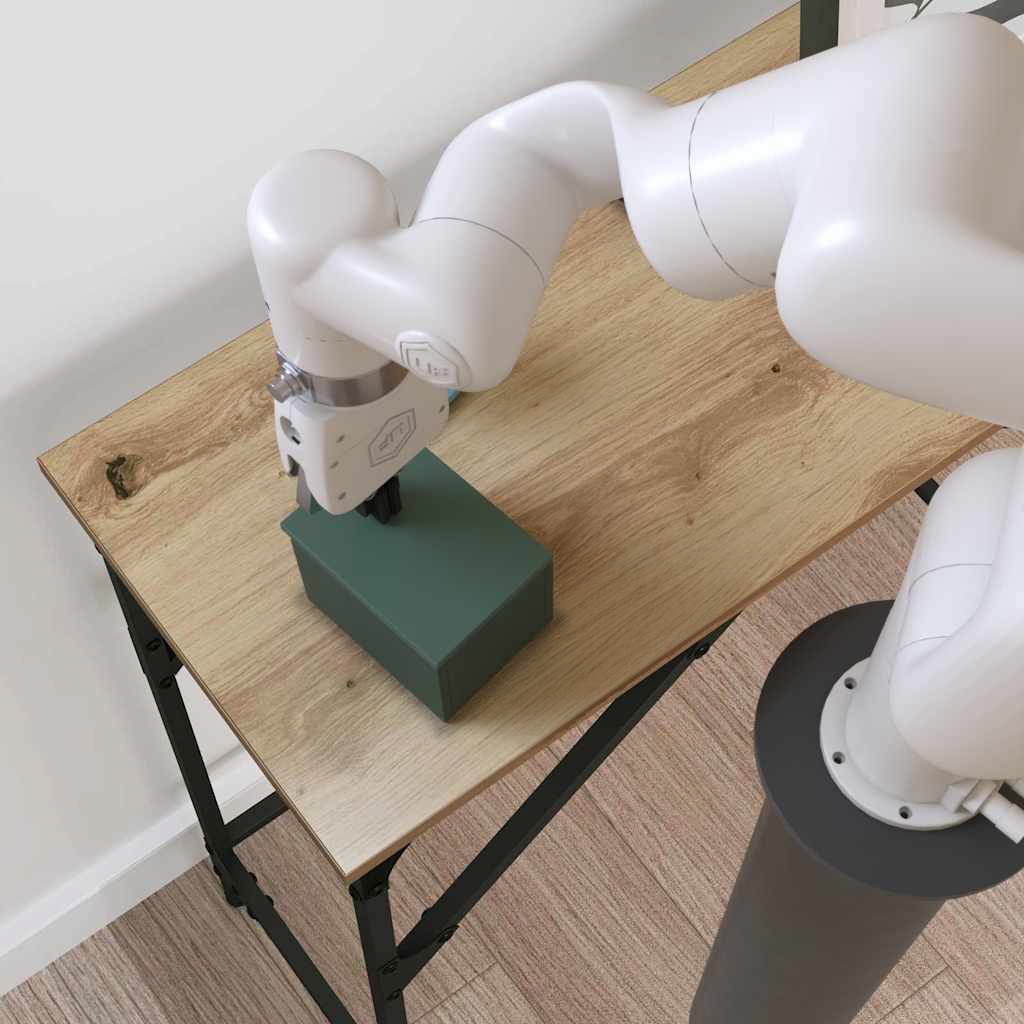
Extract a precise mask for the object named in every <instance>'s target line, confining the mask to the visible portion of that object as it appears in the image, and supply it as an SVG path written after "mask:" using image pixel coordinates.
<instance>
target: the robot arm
mask: <svg viewBox="0 0 1024 1024" xmlns="http://www.w3.org/2000/svg"><path fill="white" fill-rule="evenodd" d="M622 197H623V198H624V202H625V203H624V207H625V210H626V214H627V217H628V220H629V224H630V227H631V230H632V232H633V235H634V237H635V239H636V242H637V244H638V246H639V247H640V249H641V251H642V254H643V255H644V256H645V258H646V260H647V262H649V265H650V266H651V267H652V268H653V269H654V271H655V272H656V273H657V274H658V275H659V277H660V278H662V280H664V281H665V282H666V283H667V284H668V285H669V286H670V287H672V288H673V289H674V290H676V291H677V292H680V293H681V294H683V295H684V296H687V297H690V298H692V299H697V300H702V301H707V302H716V301H725V300H729V299H733V298H736V297H740V296H743V295H744V296H745V295H747V294H750V293H753V292H759V291H761V290H765V289H770V288H773V287H774V293H775V299H776V306H777V313H778V315H779V319H780V320H781V322H782V324H783V326H784V328H785V330H786V331H787V334H789V336H790V337H791V339H793V340H794V341H795V342H796V343H797V345H798V346H800V347H801V349H802V350H803V351H804V352H805V353H806V354H807V355H808V356H810V357H811V358H812V359H814V360H816V361H817V362H819V363H820V364H822V365H823V366H825V367H827V368H828V369H830V370H832V371H833V372H835V373H837V374H839V375H840V376H843V377H845V378H847V379H849V380H852V381H855V382H857V383H859V384H862V385H865V386H867V387H869V388H873V389H875V390H877V391H881V392H883V393H886V394H889V395H892V396H894V397H897V398H901V399H904V400H908V401H911V402H914V403H918V404H922V405H925V406H929V407H932V408H936V409H939V410H943V411H945V412H950V413H953V414H957V415H961V416H965V417H968V418H972V419H976V420H979V421H983V422H986V423H990V424H994V425H998V426H1000V427H1001V426H1002V427H1005V428H1009V429H1012V430H1016V431H1020V432H1023V433H1024V42H1023V41H1022V40H1021V38H1020V37H1019V36H1018V35H1017V34H1016V33H1014V32H1013V31H1012V30H1010V29H1009V28H1008V27H1006V26H1005V25H1003V23H1000V22H999V21H996V20H994V19H991V18H989V17H988V16H984V15H979V14H974V13H969V12H951V11H949V12H942V13H935V14H929V15H928V14H927V15H922V16H919V17H915V18H911V19H908V20H905V21H903V22H900V23H897V24H895V25H892V26H889V27H886V28H882V29H880V30H878V31H874V32H871V33H868V34H866V35H864V36H861V37H858V38H855V39H853V40H850V41H847V42H845V43H842V44H839V45H837V46H833V47H831V48H829V49H826V50H823V51H820V52H818V53H814V54H813V55H810V56H807V57H804V58H802V59H799V60H797V61H795V62H794V61H793V62H791V63H789V64H787V65H783V66H781V67H779V68H775V69H773V70H770V71H767V72H765V73H762V74H760V75H757V76H753V77H751V78H748V79H745V80H743V81H741V82H738V83H735V84H733V85H730V86H727V87H725V88H721V89H719V90H715V91H714V92H711V93H709V94H706V95H704V96H702V97H701V96H700V97H699V98H696V99H694V100H692V101H689V102H685V103H683V104H679V105H674V104H672V103H671V102H669V101H668V100H666V99H664V98H663V97H661V96H658V95H656V94H655V93H651V92H649V91H647V90H644V89H641V88H638V87H634V86H629V85H625V84H621V83H615V82H609V81H602V80H595V79H594V80H593V79H575V80H569V81H564V82H560V83H557V84H553V85H550V86H548V87H545V88H542V89H540V90H538V91H535V92H532V93H530V94H527V95H525V96H522V97H521V98H518V99H515V100H514V101H511V102H508V103H506V104H504V105H502V106H500V107H498V108H496V109H493V110H491V111H490V112H488V113H485V114H484V115H482V116H481V117H479V118H477V119H475V120H474V121H473V122H470V124H469V125H468V126H466V127H465V128H464V129H462V131H460V132H459V134H458V135H456V136H455V138H453V139H452V141H451V142H450V143H449V144H448V146H447V148H445V150H444V152H443V153H442V155H441V157H440V159H439V161H438V164H437V166H436V167H435V169H434V171H433V173H432V174H431V177H430V179H429V181H428V183H427V184H426V187H425V190H424V192H423V194H422V196H421V198H420V201H419V202H418V204H417V207H416V209H415V211H414V212H413V215H412V217H411V219H410V221H409V223H408V226H407V227H404V226H402V225H401V221H400V213H399V208H398V204H397V200H396V195H395V192H394V190H393V188H392V187H391V185H390V183H389V181H388V179H387V178H386V177H385V175H384V174H383V173H382V172H381V171H380V170H379V169H378V168H377V167H376V166H374V165H373V164H372V163H371V162H369V161H368V160H366V159H364V158H363V157H360V156H358V155H356V154H353V153H351V152H348V151H343V150H339V149H329V148H318V149H317V148H316V149H310V150H305V151H300V152H298V153H297V152H296V153H295V154H292V155H289V156H287V157H285V158H283V159H282V160H279V162H276V163H275V164H274V165H272V167H270V168H269V169H268V170H267V171H266V172H264V174H263V175H261V177H260V179H259V180H258V181H257V182H256V184H255V186H254V188H253V190H252V192H251V194H250V197H249V200H248V204H247V207H246V208H247V209H246V221H245V222H246V230H247V235H248V239H249V244H250V248H251V252H252V256H253V260H254V264H255V268H256V272H257V276H258V279H259V283H260V288H261V291H262V294H263V299H264V303H265V306H266V311H267V314H268V319H269V322H270V327H271V331H272V334H273V339H274V343H275V346H276V350H275V351H274V352H275V355H276V359H277V363H278V368H276V370H277V372H276V373H274V378H273V379H271V380H270V381H269V382H268V383H267V384H266V388H267V391H268V392H269V394H270V395H271V396H272V397H273V398H274V400H273V402H274V403H273V409H274V410H273V411H274V426H275V433H276V441H277V446H278V450H279V456H280V460H281V463H282V466H283V469H284V471H285V474H286V475H287V476H288V477H289V478H297V482H296V483H297V484H296V497H295V502H296V504H297V505H298V506H301V507H302V508H303V509H304V510H306V511H307V512H308V513H309V514H310V515H313V514H315V513H317V512H318V511H320V510H321V509H323V508H324V509H325V510H327V511H328V512H330V513H331V514H333V515H339V514H343V513H346V512H348V511H350V510H352V509H353V508H354V509H355V510H356V511H357V512H358V513H359V514H361V515H362V516H363V517H365V518H366V517H367V516H368V515H370V514H371V515H372V516H373V517H374V518H375V519H376V520H378V521H379V522H380V523H381V524H383V525H385V524H386V523H387V522H388V521H389V520H390V517H391V515H393V514H397V513H398V512H400V511H401V510H402V505H401V499H400V493H399V488H400V484H399V478H398V475H399V474H400V473H401V472H402V471H403V469H404V467H405V464H407V463H408V462H409V461H410V460H411V459H412V458H413V457H414V456H416V455H417V454H418V453H419V452H420V451H421V450H422V449H423V448H424V447H426V448H427V446H428V445H429V444H430V443H431V442H432V441H433V440H434V439H435V438H436V437H437V436H438V435H439V434H440V433H441V432H442V430H443V429H444V428H445V426H446V425H447V423H448V421H449V416H450V415H449V414H450V406H449V405H450V403H449V402H448V395H447V389H450V390H458V391H461V392H465V393H481V392H485V391H488V390H491V389H493V388H495V387H497V386H499V385H500V384H501V383H502V382H504V381H505V380H506V379H507V378H508V376H509V375H510V374H511V372H512V371H513V369H514V367H515V366H516V363H517V361H518V359H519V358H520V355H521V353H522V351H523V349H524V346H525V343H526V341H527V338H528V335H529V333H530V331H531V328H532V326H533V323H534V321H535V318H536V315H537V312H538V311H539V308H540V305H541V303H542V300H543V297H544V295H545V292H546V290H547V288H548V285H549V283H550V281H551V278H552V275H553V273H554V270H555V268H556V265H557V264H558V261H559V258H560V256H561V253H562V250H563V248H564V246H565V243H566V241H567V240H568V237H569V234H570V232H571V230H572V227H573V225H574V223H575V220H576V219H577V218H578V217H579V216H580V215H582V214H584V213H585V212H587V211H589V210H592V209H595V208H596V207H599V206H602V205H604V204H608V203H610V202H613V201H616V200H619V198H622ZM894 600H895V602H894V605H893V607H892V609H891V611H890V613H889V615H888V618H887V620H886V622H885V625H884V627H883V629H882V632H881V634H880V636H879V638H878V641H877V643H876V645H875V648H874V650H873V652H872V655H871V656H870V657H868V658H867V659H865V660H863V661H861V662H859V663H857V664H855V665H854V666H853V667H852V668H850V669H849V670H848V671H846V672H845V673H844V674H843V675H842V676H841V678H840V679H839V680H838V681H837V682H836V684H835V685H834V686H833V688H832V690H831V692H830V694H829V696H828V698H827V700H826V702H825V705H824V708H823V711H822V715H821V721H820V728H819V730H820V746H821V750H822V754H823V758H824V762H825V764H826V766H827V768H828V771H829V773H830V775H831V777H832V779H833V780H834V782H835V783H836V784H837V786H838V787H839V789H840V790H841V791H842V793H843V794H844V795H845V796H846V797H847V798H848V799H849V800H850V801H851V802H852V803H853V804H854V805H855V806H857V807H858V808H860V809H861V810H863V811H864V812H865V813H867V814H868V815H870V816H871V817H873V818H876V819H878V820H880V821H882V822H884V823H886V824H888V825H892V826H896V827H900V828H903V829H908V830H920V831H929V830H940V829H945V828H949V827H952V826H955V825H959V824H961V823H963V822H965V821H967V820H968V819H970V818H972V817H974V816H976V815H977V814H978V813H979V812H980V813H981V814H983V815H984V816H985V817H986V818H988V819H989V820H990V821H991V822H993V823H994V824H995V826H996V827H997V828H998V829H999V830H1001V831H1002V832H1003V833H1004V834H1006V835H1007V836H1008V837H1009V838H1010V839H1012V840H1013V841H1014V842H1015V843H1017V844H1018V843H1019V841H1020V840H1021V839H1022V838H1023V837H1024V811H1023V810H1022V809H1021V808H1019V807H1018V806H1017V805H1016V804H1012V803H1011V802H1010V801H1008V800H1007V799H1006V798H1005V797H1003V796H1002V795H1001V794H999V793H998V791H999V789H1000V787H1001V786H1002V784H1003V782H1005V783H1007V784H1008V785H1009V786H1010V787H1012V790H1014V791H1015V792H1016V793H1018V794H1019V795H1020V796H1021V797H1023V798H1024V442H1023V443H1022V445H1021V446H1009V447H1008V446H1007V447H1003V448H1002V447H1001V448H995V449H992V450H989V451H985V452H983V453H980V454H977V455H976V456H973V457H972V458H970V459H968V460H966V461H965V462H963V463H961V464H960V465H959V466H957V467H956V468H955V469H954V470H953V471H951V472H950V473H949V474H948V475H947V477H945V479H943V480H942V482H941V484H940V485H939V486H938V488H937V489H936V491H935V492H934V494H933V495H932V497H931V499H930V501H929V504H928V506H927V507H926V511H925V513H924V516H923V519H922V521H921V525H920V528H919V532H918V535H917V537H916V541H915V545H914V547H913V551H912V553H911V556H910V559H909V562H908V566H907V569H906V571H905V574H904V577H903V580H902V582H901V585H900V588H899V590H898V593H897V595H896V598H895V599H894ZM847 685H849V686H851V687H852V689H848V688H846V686H847ZM835 759H838V760H840V762H841V764H837V763H835V762H834V760H835ZM900 814H906V816H907V819H904V818H902V817H901V816H900Z"/></svg>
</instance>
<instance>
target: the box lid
mask: <svg viewBox="0 0 1024 1024" xmlns="http://www.w3.org/2000/svg"><path fill="white" fill-rule="evenodd" d="M398 478H399V484H400V488H399V493H400V499H401V505H402V510H401V511H400V512H398V513H397V514H393V515H391V517H390V520H389V521H388V522H387V523H386V524H385V525H383V524H381V523H380V522H379V521H378V520H376V519H375V518H374V517H373V516H372V515H371V514H370V515H368V516H367V517H366V518H365V517H363V516H362V515H361V514H359V513H358V512H357V511H356V510H355V509H354V508H353V509H352V510H350V511H348V512H346V513H343V514H339V515H333V514H331V513H330V512H328V511H327V510H325V509H324V508H323V509H321V510H320V511H318V512H317V513H315V514H313V515H310V514H309V513H308V512H307V511H306V510H304V509H303V508H302V507H301V506H300V505H298V507H297V508H295V509H294V510H293V511H292V512H291V513H290V514H288V515H287V516H286V517H285V518H284V519H283V520H282V521H281V522H280V523H279V527H280V529H281V531H283V532H284V533H285V534H286V535H287V536H288V537H289V538H290V539H291V538H292V539H293V540H294V541H295V542H296V543H297V544H298V545H299V546H301V547H302V548H303V549H304V550H305V551H306V552H307V553H308V554H309V555H310V556H312V557H313V558H314V559H315V560H316V561H317V562H318V563H319V564H320V565H322V566H323V567H324V568H325V569H326V570H327V571H328V572H329V573H330V574H331V575H333V576H334V577H335V578H336V579H337V580H338V581H339V582H340V583H341V584H343V585H344V586H345V587H346V588H347V589H348V590H349V591H350V592H351V593H352V594H354V595H355V596H356V597H357V598H358V599H359V600H360V601H361V602H362V603H364V604H365V605H366V606H367V607H368V608H369V609H370V610H371V611H372V612H373V613H375V614H376V615H377V616H378V617H379V618H380V619H381V620H382V621H383V622H385V623H386V624H387V625H388V626H389V627H390V628H391V629H392V630H393V631H394V632H396V633H397V634H398V635H399V636H400V637H401V638H402V639H403V640H404V641H405V642H407V643H408V644H409V645H410V646H411V647H412V648H413V649H414V650H415V651H417V652H418V653H419V654H420V655H421V656H422V657H423V658H424V659H425V660H426V661H428V662H429V663H430V664H431V665H432V666H433V667H434V668H435V669H437V670H438V669H439V668H440V667H441V666H442V665H443V664H444V663H445V662H446V661H447V660H448V659H450V658H451V657H452V656H453V655H454V654H455V653H456V652H457V651H458V650H459V649H460V648H461V647H462V646H463V645H464V644H465V643H466V642H467V641H469V640H470V639H471V638H472V637H473V636H474V635H475V634H476V633H477V632H478V631H479V630H480V629H481V628H482V627H483V626H484V625H485V624H486V623H487V622H489V621H490V620H491V619H492V618H493V617H494V616H495V615H496V614H497V613H498V612H499V611H500V610H501V609H502V608H503V607H504V606H505V605H506V604H508V603H509V602H510V601H511V600H512V599H513V598H514V597H515V596H516V595H517V594H518V593H519V592H520V591H521V590H522V589H523V588H524V587H525V586H526V585H528V584H529V583H530V582H531V581H532V580H533V579H534V578H535V577H536V576H537V575H538V574H539V573H540V572H541V571H542V570H543V569H544V568H545V567H546V566H548V565H549V564H550V563H551V562H552V561H553V562H554V554H553V553H552V552H551V551H550V550H548V548H546V547H545V546H544V545H543V544H541V543H540V542H539V541H538V540H537V539H536V538H534V537H533V536H532V535H530V533H528V532H527V530H525V529H524V528H522V527H521V526H520V525H519V524H518V523H516V521H514V520H513V519H512V518H511V517H510V516H508V515H507V514H506V513H505V512H504V511H502V510H501V509H500V508H499V507H498V506H496V505H495V504H494V503H493V502H492V501H491V500H490V499H488V498H487V497H486V496H485V495H484V494H483V493H481V492H480V491H479V490H478V489H476V488H475V487H474V486H473V485H471V484H470V483H469V482H468V481H467V480H466V479H464V477H462V476H461V475H460V474H458V473H457V472H456V471H455V470H454V469H453V468H451V467H450V466H449V465H448V464H447V463H445V461H443V460H442V459H441V458H440V457H439V456H437V455H436V454H435V453H434V452H432V451H431V450H430V449H429V448H428V447H427V446H426V447H424V448H423V449H422V450H421V451H420V452H419V453H418V454H417V455H416V456H414V457H413V458H412V459H411V460H410V461H409V462H408V463H407V464H405V467H404V469H403V471H402V472H401V473H400V474H399V475H398Z"/></svg>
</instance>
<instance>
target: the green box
mask: <svg viewBox="0 0 1024 1024" xmlns="http://www.w3.org/2000/svg"><path fill="white" fill-rule="evenodd" d="M290 543H291V546H292V550H293V553H294V556H295V561H296V564H297V567H298V570H299V574H300V577H301V581H302V584H303V587H304V591H305V595H306V597H307V599H308V600H309V601H310V602H311V603H312V604H313V605H314V606H315V607H316V608H317V609H319V610H320V611H321V612H322V613H323V614H324V615H325V616H326V617H327V618H328V619H330V620H331V621H332V622H333V623H334V624H335V625H336V626H337V627H339V628H340V629H341V630H342V631H343V632H344V634H346V635H347V636H348V637H350V638H351V639H352V640H353V641H354V642H355V643H356V644H357V645H358V646H359V647H361V649H363V650H364V651H365V652H366V653H367V654H368V655H370V657H371V658H372V659H374V660H375V661H376V662H377V663H378V664H379V665H380V666H381V667H382V668H384V669H385V670H386V671H387V672H388V673H389V674H390V675H391V676H392V677H393V678H395V680H397V681H398V682H399V683H400V684H401V685H402V686H403V687H404V688H405V689H407V691H409V692H410V693H411V694H412V695H413V696H414V697H416V698H417V699H418V700H419V701H420V702H421V703H422V704H423V705H424V706H425V707H426V708H427V709H429V710H430V711H431V712H432V713H433V714H435V716H437V718H438V719H440V720H441V721H442V722H443V723H444V724H446V723H447V722H449V720H450V719H452V717H454V716H455V715H456V714H457V713H458V711H460V710H461V708H463V707H464V706H465V705H466V704H467V703H468V702H469V701H470V700H471V699H472V698H473V697H474V696H475V695H476V694H477V693H478V692H479V691H480V690H481V689H483V687H484V686H486V685H487V684H488V683H489V682H490V681H491V680H492V679H493V678H494V677H495V676H496V675H497V674H498V673H499V672H500V671H501V670H502V669H503V668H504V667H505V666H506V665H507V664H508V663H509V662H510V661H512V659H513V658H515V657H516V656H517V655H518V654H519V653H520V652H521V651H522V650H523V649H524V648H525V647H526V646H527V645H528V644H529V643H530V642H531V641H532V640H533V639H534V638H535V637H536V636H537V635H539V634H540V632H542V631H543V629H544V628H545V627H547V626H548V625H549V624H550V622H551V621H553V620H554V560H553V561H552V562H551V563H550V564H549V565H548V566H546V567H545V568H544V569H543V570H542V571H541V572H540V573H539V574H538V575H537V576H536V577H535V578H534V579H533V580H532V581H531V582H530V583H529V584H528V585H526V586H525V587H524V588H523V589H522V590H521V591H520V592H519V593H518V594H517V595H516V596H515V597H514V598H513V599H512V600H511V601H510V602H509V603H508V604H506V605H505V606H504V607H503V608H502V609H501V610H500V611H499V612H498V613H497V614H496V615H495V616H494V617H493V618H492V619H491V620H490V621H489V622H487V623H486V624H485V625H484V626H483V627H482V628H481V629H480V630H479V631H478V632H477V633H476V634H475V635H474V636H473V637H472V638H471V639H470V640H469V641H467V642H466V643H465V644H464V645H463V646H462V647H461V648H460V649H459V650H458V651H457V652H456V653H455V654H454V655H453V656H452V657H451V658H450V659H448V660H447V661H446V662H445V663H444V664H443V665H442V666H441V667H440V668H439V669H438V670H437V669H435V668H434V667H433V666H432V665H431V664H430V663H429V662H428V661H426V660H425V659H424V658H423V657H422V656H421V655H420V654H419V653H418V652H417V651H415V650H414V649H413V648H412V647H411V646H410V645H409V644H408V643H407V642H405V641H404V640H403V639H402V638H401V637H400V636H399V635H398V634H397V633H396V632H394V631H393V630H392V629H391V628H390V627H389V626H388V625H387V624H386V623H385V622H383V621H382V620H381V619H380V618H379V617H378V616H377V615H376V614H375V613H373V612H372V611H371V610H370V609H369V608H368V607H367V606H366V605H365V604H364V603H362V602H361V601H360V600H359V599H358V598H357V597H356V596H355V595H354V594H352V593H351V592H350V591H349V590H348V589H347V588H346V587H345V586H344V585H343V584H341V583H340V582H339V581H338V580H337V579H336V578H335V577H334V576H333V575H331V574H330V573H329V572H328V571H327V570H326V569H325V568H324V567H323V566H322V565H320V564H319V563H318V562H317V561H316V560H315V559H314V558H313V557H312V556H310V555H309V554H308V553H307V552H306V551H305V550H304V549H303V548H302V547H301V546H299V545H298V544H297V543H296V542H295V541H294V540H293V539H292V538H291V537H290Z"/></svg>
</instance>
